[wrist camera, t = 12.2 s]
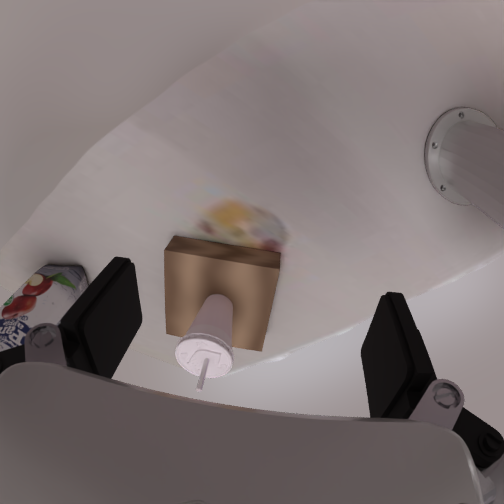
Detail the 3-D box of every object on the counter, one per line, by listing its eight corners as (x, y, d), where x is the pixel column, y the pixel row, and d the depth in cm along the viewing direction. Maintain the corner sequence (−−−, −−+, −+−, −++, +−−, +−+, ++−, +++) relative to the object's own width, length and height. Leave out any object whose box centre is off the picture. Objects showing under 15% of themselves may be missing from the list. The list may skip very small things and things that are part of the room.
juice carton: (101, 306, 49) (20, 435, 25) (56, 301, 50) (-25, 410, 27) (86, 260, 45) (-19, 388, 21) (40, 259, 46) (-59, 364, 22)
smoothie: (252, 313, 41) (239, 401, 29) (213, 330, 43) (191, 413, 31) (224, 277, 39) (199, 363, 27) (184, 297, 41) (150, 378, 29)
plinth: (280, 253, 41) (279, 269, 38) (263, 332, 48) (261, 351, 44) (174, 235, 41) (164, 250, 38) (173, 316, 48) (166, 333, 45)
